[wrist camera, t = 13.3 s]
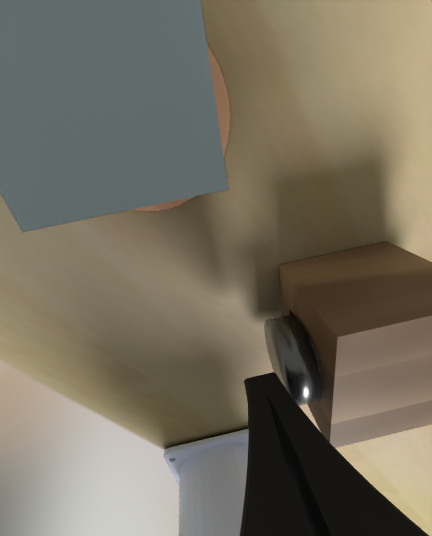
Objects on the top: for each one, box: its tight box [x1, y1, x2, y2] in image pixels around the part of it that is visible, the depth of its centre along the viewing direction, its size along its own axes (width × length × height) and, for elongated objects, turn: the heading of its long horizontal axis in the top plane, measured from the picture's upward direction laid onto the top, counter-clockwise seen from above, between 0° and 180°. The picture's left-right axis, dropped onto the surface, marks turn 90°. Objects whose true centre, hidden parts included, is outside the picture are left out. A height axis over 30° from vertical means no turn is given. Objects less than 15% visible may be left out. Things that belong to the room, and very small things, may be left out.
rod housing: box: [279, 242, 432, 448], centre depth 12 cm, size 7×6×6 cm
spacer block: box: [0, 0, 228, 232], centre depth 6 cm, size 4×4×6 cm
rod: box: [264, 315, 322, 406], centre depth 12 cm, size 4×8×4 cm, turn 100°
